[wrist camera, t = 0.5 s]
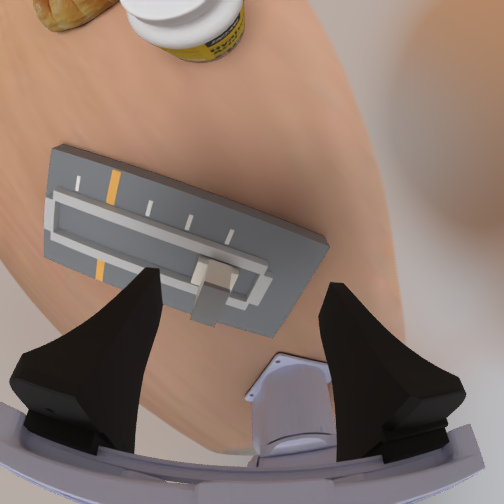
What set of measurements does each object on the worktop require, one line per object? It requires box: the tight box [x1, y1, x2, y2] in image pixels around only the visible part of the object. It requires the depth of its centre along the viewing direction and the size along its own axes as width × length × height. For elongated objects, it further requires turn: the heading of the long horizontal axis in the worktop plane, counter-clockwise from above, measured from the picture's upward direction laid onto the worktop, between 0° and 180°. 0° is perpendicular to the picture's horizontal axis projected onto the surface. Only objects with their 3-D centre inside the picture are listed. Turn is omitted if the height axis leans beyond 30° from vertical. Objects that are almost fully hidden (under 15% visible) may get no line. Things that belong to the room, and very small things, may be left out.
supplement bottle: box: [120, 0, 245, 63], centre depth 11 cm, size 5×5×10 cm
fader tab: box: [190, 255, 239, 327], centre depth 20 cm, size 3×3×4 cm
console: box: [44, 144, 330, 338], centre depth 22 cm, size 10×22×2 cm, turn 68°
